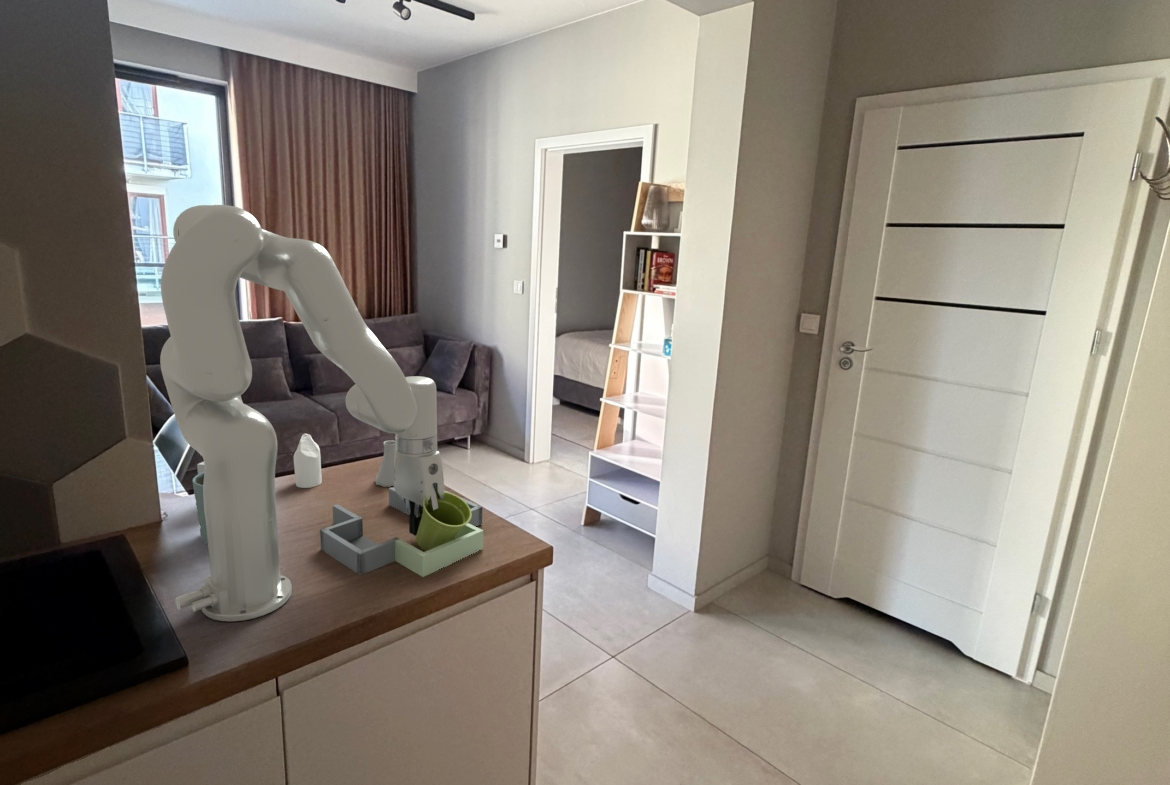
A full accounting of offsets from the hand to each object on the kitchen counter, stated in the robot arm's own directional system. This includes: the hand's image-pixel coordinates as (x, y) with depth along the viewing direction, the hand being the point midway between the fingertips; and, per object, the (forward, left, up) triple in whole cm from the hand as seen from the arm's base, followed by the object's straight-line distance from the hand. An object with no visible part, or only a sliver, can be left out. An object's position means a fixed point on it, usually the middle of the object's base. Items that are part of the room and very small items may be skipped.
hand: (418, 531), depth 120 cm
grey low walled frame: (-1, +2, -2) cm, 3 cm away
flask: (+13, +28, -2) cm, 31 cm away
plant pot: (0, -4, -1) cm, 4 cm away
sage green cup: (-24, +26, -2) cm, 36 cm away
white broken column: (-1, +40, -2) cm, 40 cm away
